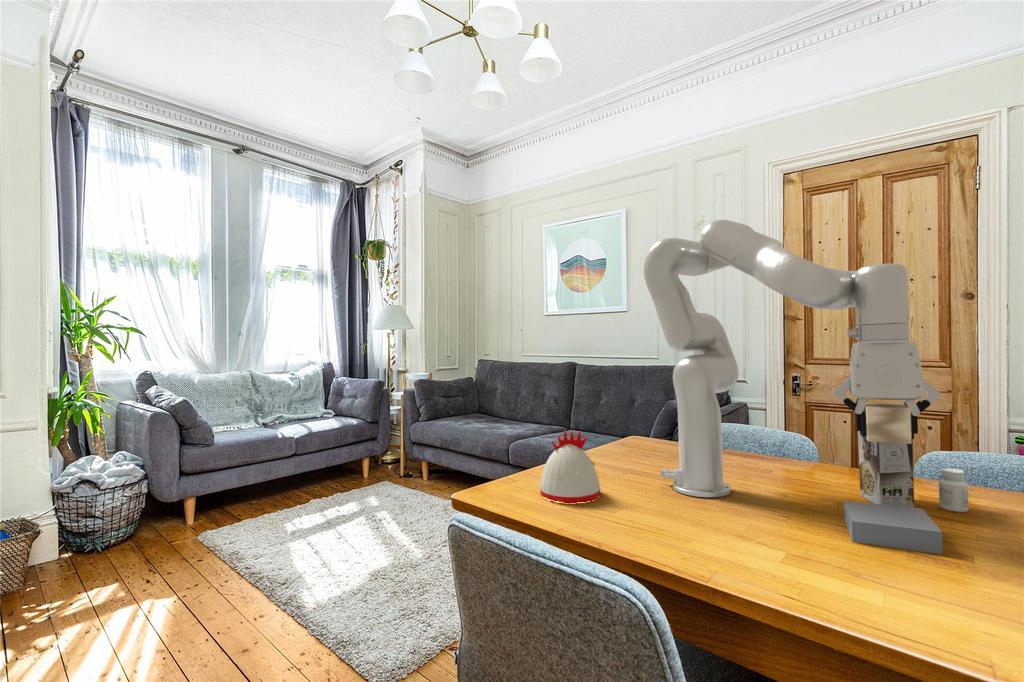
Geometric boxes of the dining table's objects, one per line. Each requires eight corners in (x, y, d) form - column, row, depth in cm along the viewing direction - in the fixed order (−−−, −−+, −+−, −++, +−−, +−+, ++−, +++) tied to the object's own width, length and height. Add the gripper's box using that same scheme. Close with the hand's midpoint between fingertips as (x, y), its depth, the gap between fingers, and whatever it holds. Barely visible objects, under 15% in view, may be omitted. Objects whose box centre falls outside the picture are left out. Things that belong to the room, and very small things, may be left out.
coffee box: (916, 509, 100) (914, 429, 100) (880, 508, 101) (878, 429, 101) (891, 495, 109) (889, 422, 109) (858, 494, 110) (856, 421, 110)
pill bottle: (963, 506, 101) (962, 468, 101) (972, 513, 97) (971, 474, 97) (936, 504, 103) (935, 466, 103) (943, 511, 99) (942, 472, 99)
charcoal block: (852, 544, 85) (851, 521, 85) (844, 521, 96) (843, 500, 96) (942, 557, 80) (941, 532, 80) (923, 530, 90) (922, 508, 90)
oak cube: (868, 441, 87) (867, 406, 87) (862, 435, 92) (861, 402, 92) (911, 443, 84) (910, 408, 84) (903, 437, 89) (902, 403, 89)
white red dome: (604, 504, 109) (602, 435, 109) (541, 505, 109) (539, 436, 109) (595, 485, 123) (593, 424, 123) (539, 486, 123) (537, 426, 123)
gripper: (827, 336, 89) (830, 437, 88) (952, 332, 81) (956, 444, 80) (823, 336, 95) (826, 430, 95) (939, 333, 87) (942, 435, 87)
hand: (886, 435), depth 88 cm, fingers closed on oak cube, 6 cm apart
